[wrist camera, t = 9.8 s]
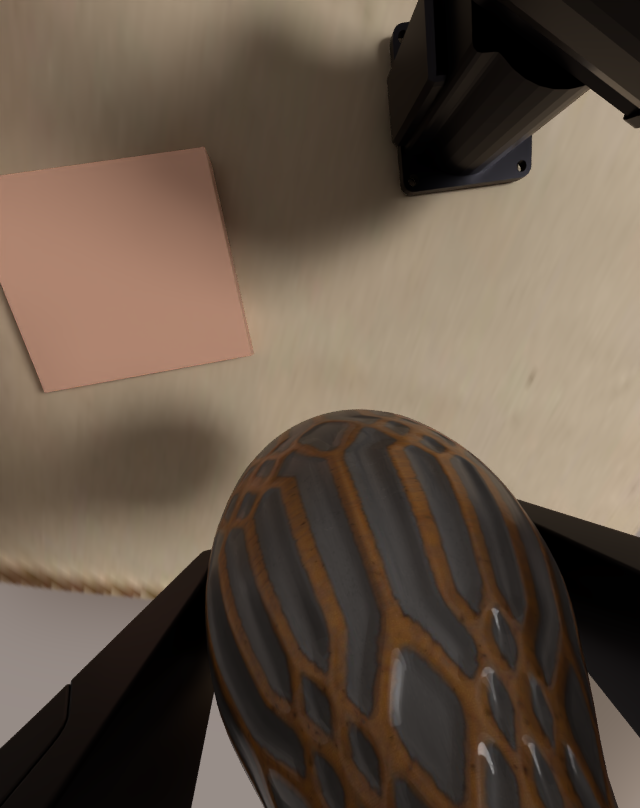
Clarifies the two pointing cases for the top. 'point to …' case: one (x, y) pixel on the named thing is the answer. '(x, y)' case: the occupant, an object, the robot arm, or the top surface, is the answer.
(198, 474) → the top surface
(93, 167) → the tile
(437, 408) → the top surface
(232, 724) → the vase
